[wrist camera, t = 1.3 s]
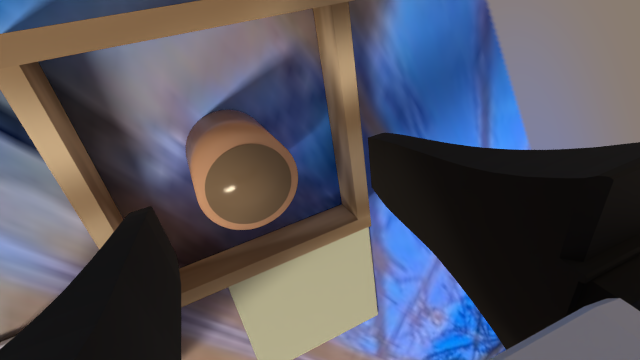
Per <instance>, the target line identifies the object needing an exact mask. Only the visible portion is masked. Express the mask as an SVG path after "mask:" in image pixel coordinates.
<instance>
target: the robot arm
mask: <svg viewBox="0 0 640 360" xmlns="http://www.w3.org/2000/svg"><path fill="white" fill-rule="evenodd" d="M368 145H369V158H370V171H371V184H372V188H373V190H374V191H375V192H376V194H377V195H378V196H379V198H380V199H381V200H382V202H383V203H384V204H385V205H386V207H387V208H388V209H389V210H390V211H391V212H392V213H393V214H394V215H395V216H396V217H397V218H398V219H399V220H400V221H401V222H402V223H403V224H404V225H405V226H406V227H407V228H409V229H410V230H411V231H412V232H413V233H414V234H415V235H416V236H417V237H418V238H419V239H420V240H421V241H422V242H423V243H424V244H425V245H426V246H427V247H428V248H429V249H430V250H431V251H432V252H433V253H434V254H435V255H436V256H437V258H438V259H439V260H440V261H441V262H442V264H443V265H444V266H445V267H446V268H447V270H448V271H449V272H450V273H451V275H452V276H453V277H454V278H455V279H456V281H457V282H458V283H459V285H460V286H461V287H462V289H463V290H464V291H465V292H466V294H467V295H468V296H469V298H470V299H471V300H472V301H473V303H474V304H475V306H476V307H477V308H478V310H479V311H480V313H481V314H482V315H483V317H484V318H485V319H486V321H487V322H488V324H489V325H490V326H491V328H492V329H493V331H494V332H495V334H496V335H497V336H498V338H499V339H500V341H501V342H502V344H503V345H504V347H505V348H506V351H504V352H502V353H500V354H498V355H497V356H495V357H493V358H491V359H489V360H640V142H639V143H630V144H621V145H613V146H603V147H594V148H578V149H561V150H508V149H493V148H480V147H471V146H464V145H457V144H450V143H444V142H438V141H433V140H427V139H422V138H417V137H411V136H406V135H400V134H393V133H381V134H378V135H375V136H372V137H369V138H368ZM0 360H181V279H180V272H179V266H178V259H177V256H176V254H175V252H174V250H173V248H172V246H171V244H170V242H169V240H168V238H167V236H166V234H165V232H164V230H163V228H162V226H161V224H160V222H159V220H158V218H157V216H156V214H155V212H154V210H153V208H152V206H150V207H147V208H144V209H141V210H138V211H134V212H131V213H129V214H128V215H127V216H126V217H125V219H124V220H123V221H122V222H121V223H120V225H119V226H118V227H117V228H116V230H115V231H114V232H113V233H112V235H111V236H110V237H109V239H108V240H107V241H106V242H105V244H104V245H103V246H102V247H101V249H100V250H99V251H98V252H97V253H96V255H95V256H94V257H93V258H92V260H91V261H90V262H89V263H88V264H87V265H86V266H85V267H84V269H83V270H82V271H81V272H80V273H79V274H78V275H77V277H76V278H75V279H74V280H73V281H72V282H71V283H70V284H69V286H68V287H67V288H66V289H65V290H64V291H63V292H62V293H61V294H60V295H59V296H58V297H57V298H56V299H55V300H54V301H53V302H52V303H51V304H50V305H49V306H48V307H47V308H46V309H45V310H44V311H43V312H42V313H41V314H40V315H38V316H37V317H36V318H35V319H34V320H33V321H32V322H31V323H30V324H29V325H28V326H27V327H25V328H24V329H23V330H22V331H21V332H20V333H18V334H17V335H16V336H14V337H12V338H9V339H7V340H4V341H2V342H0Z"/></svg>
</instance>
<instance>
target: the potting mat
mask: <svg viewBox="0 0 640 360" xmlns="http://www.w3.org/2000/svg"><path fill="white" fill-rule="evenodd" d="M228 288H229V290H230V293H231V295H232V298H233V300H234V303H235V305H236V308H237V310H238V313H239V315H240V317H241V320H242V322H243V325H244V327H245V330H246V332H247V335H248V337H249V340H250V342H251V345H252V347H253V350H254V352H255V355H256V357H257V360H293V359H294V358H296V357H298V356H300V355H302V354H304V353H306V352H308V351H310V350H312V349H313V348H315V347H317V346H319V345H321V344H323V343H325V342H327V341H329V340H331V339H333V338H334V337H336V336H338V335H340V334H342V333H344V332H346V331H348V330H350V329H352V328H353V327H355V326H357V325H359V324H361V323H363V322H365V321H367V320H369V319H371V318H373V317H374V316H376V315H378V311H377V302H376V293H375V283H374V274H373V265H372V255H371V246H370V236H369V227H367V228H365V229H363V230H360V231H358V232H356V233H353V234H351V235H349V236H346V237H344V238H342V239H339V240H337V241H335V242H332V243H330V244H328V245H325V246H323V247H321V248H318V249H316V250H314V251H311V252H309V253H307V254H304V255H302V256H300V257H297V258H295V259H293V260H290V261H288V262H286V263H283V264H281V265H279V266H276V267H274V268H272V269H269V270H267V271H265V272H262V273H260V274H258V275H255V276H253V277H251V278H248V279H246V280H244V281H241V282H239V283H237V284H234V285H232V286H230V287H228Z"/></svg>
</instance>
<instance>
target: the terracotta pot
mask: <svg viewBox="0 0 640 360" xmlns="http://www.w3.org/2000/svg"><path fill="white" fill-rule="evenodd" d="M186 158H187V162H188V166H189V170H190V174H191V177H192V181H193V185H194V189H195V193H196V197H197V200H198V203H199V205H200V207H201V209H202V211H203V212H204V213H205V215H206V216H207V217H208V218H209V219H211V220H212V221H213V222H215V223H216V224H218V225H220V226H223V227H225V228H229V229H234V230H249V229H254V228H258V227H261V226H264V225H266V224H268V223H270V222H271V221H273V220H275V219H276V218H277V217H279V216H280V215H281V214H282V213H283V212H284V211H285V210H286V209H287V207H288V206H289V205H290V203H291V201H292V199H293V198H294V195H295V193H296V189H297V185H298V171H297V166H296V163H295V161H294V159H293V157H292V155H291V154H290V152H289V151H288V150H287V149H286V148H285V147H284V146H283V145H282V144H281V143H280V142H279V141H278V140H277V139H275V138H274V137H273V136H272V135H271V134H270V133H269V132H268V131H267V130H266V129H265V128H264V127H263V126H262V125H261V124H259V123H258V122H257V121H256V120H255V119H254V118H253V117H251V116H250V115H248V114H246V113H244V112H241V111H237V110H219V111H215V112H212V113H210V114H208V115H206V116H204V117H203V118H201V119H200V120H199V121H198V122H197V123H196V124H195V125H194V126H193V128H192V129H191V131H190V133H189V135H188V137H187V141H186Z"/></svg>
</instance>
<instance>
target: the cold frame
mask: <svg viewBox="0 0 640 360" xmlns="http://www.w3.org/2000/svg"><path fill="white" fill-rule="evenodd" d="M348 1H353V0H200V1H194V2H188V3H182V4H176V5H170V6H164V7H158V8H152V9H146V10H140V11H134V12H128V13H122V14H116V15H110V16H104V17H98V18H92V19H86V20H80V21H74V22H68V23H62V24H56V25H50V26H44V27H38V28H33V29H27V30H21V31H15V32H9V33H3V34H0V90H1V91H2V93H3V94H4V96H5V98H6V99H7V101H8V102H9V104H10V106H11V107H12V109H13V111H14V112H15V114H16V115H17V117H18V119H19V120H20V122H21V124H22V125H23V127H24V128H25V130H26V132H27V133H28V135H29V137H30V138H31V140H32V141H33V143H34V145H35V146H36V148H37V149H38V151H39V153H40V154H41V156H42V158H43V159H44V161H45V162H46V164H47V166H48V167H49V169H50V171H51V172H52V174H53V175H54V177H55V179H56V180H57V182H58V184H59V185H60V187H61V188H62V190H63V192H64V193H65V195H66V196H67V198H68V200H69V201H70V203H71V205H72V206H73V208H74V209H75V211H76V213H77V214H78V216H79V218H80V219H81V221H82V222H83V224H84V226H85V227H86V229H87V231H88V232H89V234H90V235H91V237H92V239H93V240H94V242H95V243H96V245H97V247H98V248H99V250H100V249H101V247H102V246H103V245H104V244H105V242H106V241H107V240H108V239H109V237H110V236H111V235H112V233H113V232H114V231H115V230H116V228H117V227H118V226H119V225H120V223H121V222H122V221H123V218H122V216H121V214H120V212H119V211H118V209H117V207H116V205H115V203H114V201H113V199H112V198H111V196H110V194H109V192H108V190H107V188H106V186H105V185H104V183H103V181H102V179H101V177H100V175H99V174H98V172H97V170H96V168H95V166H94V164H93V162H92V161H91V159H90V157H89V155H88V153H87V151H86V150H85V148H84V146H83V144H82V142H81V140H80V138H79V137H78V135H77V133H76V131H75V129H74V127H73V126H72V124H71V122H70V120H69V118H68V116H67V114H66V113H65V111H64V109H63V107H62V105H61V103H60V101H59V100H58V98H57V96H56V94H55V92H54V90H53V89H52V87H51V85H50V83H49V81H48V79H47V77H46V76H45V74H44V72H43V70H42V68H41V66H40V65H39V63H38V61H43V60H48V59H53V58H59V57H64V56H69V55H74V54H79V53H84V52H90V51H95V50H100V49H105V48H110V47H115V46H121V45H126V44H131V43H136V42H141V41H147V40H152V39H157V38H162V37H167V36H172V35H178V34H183V33H188V32H193V31H198V30H203V29H209V28H214V27H219V26H224V25H229V24H234V23H240V22H245V21H250V20H255V19H260V18H266V17H271V16H276V15H281V14H286V13H291V12H297V11H302V10H307V9H312V8H313V12H314V19H315V26H316V33H317V39H318V46H319V53H320V60H321V66H322V73H323V80H324V87H325V93H326V100H327V107H328V114H329V120H330V127H331V134H332V140H333V147H334V154H335V161H336V167H337V174H338V181H339V188H340V194H341V201H342V205H339V206H336V207H334V208H331V209H329V210H326V211H324V212H321V213H319V214H316V215H314V216H311V217H309V218H306V219H304V220H301V221H299V222H296V223H293V224H291V225H288V226H286V227H283V228H281V229H278V230H276V231H273V232H271V233H268V234H266V235H263V236H261V237H258V238H256V239H253V240H250V241H248V242H245V243H243V244H240V245H238V246H235V247H233V248H230V249H228V250H225V251H223V252H220V253H218V254H215V255H213V256H210V257H207V258H205V259H202V260H200V261H197V262H195V263H192V264H190V265H187V266H185V267H182V268H180V269H179V272H180V279H181V307H183V306H186V305H188V304H190V303H193V302H195V301H197V300H200V299H202V298H204V297H206V296H209V295H211V294H213V293H216V292H218V291H220V290H223V289H225V288H227V287H230V286H232V285H234V284H237V283H239V282H241V281H244V280H246V279H248V278H251V277H253V276H255V275H258V274H260V273H262V272H265V271H267V270H269V269H272V268H274V267H276V266H279V265H281V264H283V263H286V262H288V261H290V260H293V259H295V258H297V257H300V256H302V255H304V254H307V253H309V252H311V251H314V250H316V249H318V248H321V247H323V246H325V245H328V244H330V243H332V242H335V241H337V240H339V239H342V238H344V237H346V236H349V235H351V234H353V233H356V232H358V231H360V230H363V229H365V228H367V227H370V226H371V220H370V210H369V200H368V190H367V180H366V171H365V161H364V151H363V141H362V131H361V121H360V111H359V102H358V92H357V82H356V72H355V62H354V52H353V43H352V33H351V23H350V13H349V3H348Z"/></svg>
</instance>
